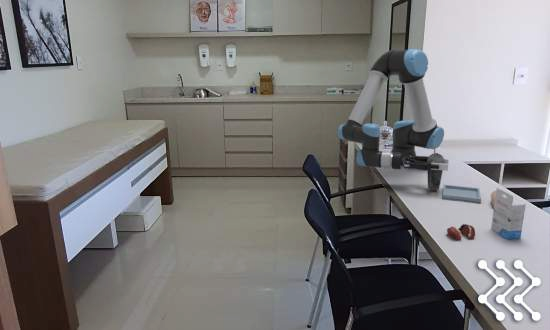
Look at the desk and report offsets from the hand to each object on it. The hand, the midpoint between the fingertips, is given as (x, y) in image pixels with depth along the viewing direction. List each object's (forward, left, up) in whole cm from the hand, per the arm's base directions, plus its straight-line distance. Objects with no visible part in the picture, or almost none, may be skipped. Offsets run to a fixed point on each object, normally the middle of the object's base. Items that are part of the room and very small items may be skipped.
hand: (448, 164), depth 164 cm
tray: (+2, +6, -12) cm, 14 cm away
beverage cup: (0, -5, -11) cm, 12 cm away
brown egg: (+9, +17, -12) cm, 23 cm away
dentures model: (+44, +6, -13) cm, 46 cm away
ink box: (+36, +19, -13) cm, 43 cm away
